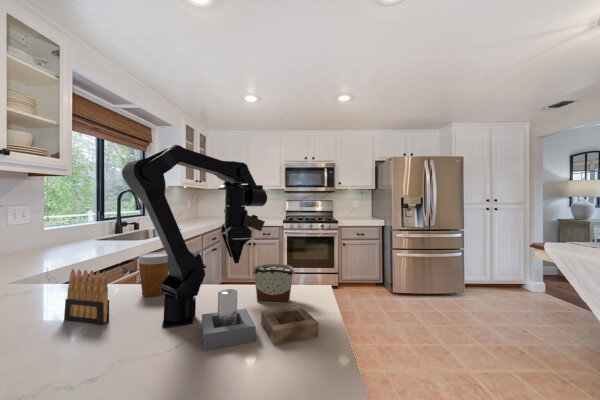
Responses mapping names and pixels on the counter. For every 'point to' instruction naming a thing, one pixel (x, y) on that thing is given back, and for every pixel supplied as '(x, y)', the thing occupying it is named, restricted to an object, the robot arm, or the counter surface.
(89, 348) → the counter surface
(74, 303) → the ammunition clip
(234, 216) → the robot arm
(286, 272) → the food container
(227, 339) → the socket block
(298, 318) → the block
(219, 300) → the pin
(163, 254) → the disposable coffee cup
